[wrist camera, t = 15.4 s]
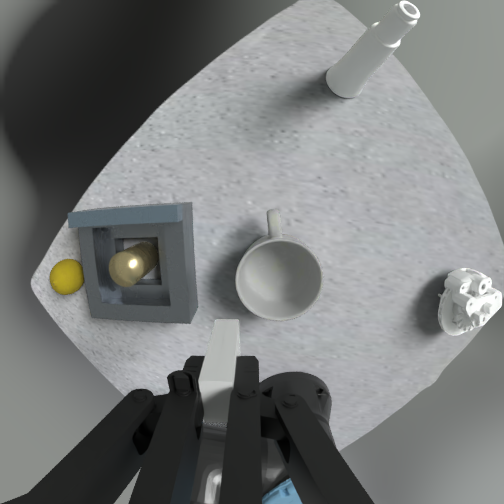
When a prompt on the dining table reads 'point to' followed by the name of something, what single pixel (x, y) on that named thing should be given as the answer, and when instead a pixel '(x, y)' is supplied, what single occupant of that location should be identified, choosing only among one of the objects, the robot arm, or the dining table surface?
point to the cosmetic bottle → (371, 50)
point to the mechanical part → (467, 301)
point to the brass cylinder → (133, 263)
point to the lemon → (67, 276)
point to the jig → (145, 290)
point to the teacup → (278, 275)
